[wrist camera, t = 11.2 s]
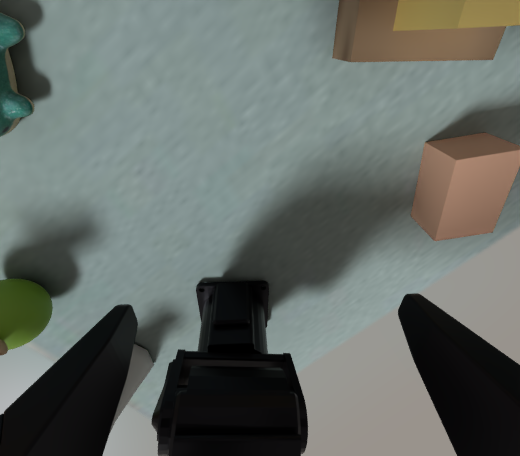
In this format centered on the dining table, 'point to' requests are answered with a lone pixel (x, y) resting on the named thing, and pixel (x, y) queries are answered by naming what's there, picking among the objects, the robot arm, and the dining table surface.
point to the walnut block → (404, 37)
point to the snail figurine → (22, 312)
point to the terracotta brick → (464, 185)
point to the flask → (134, 376)
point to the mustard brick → (455, 14)
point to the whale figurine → (10, 77)
